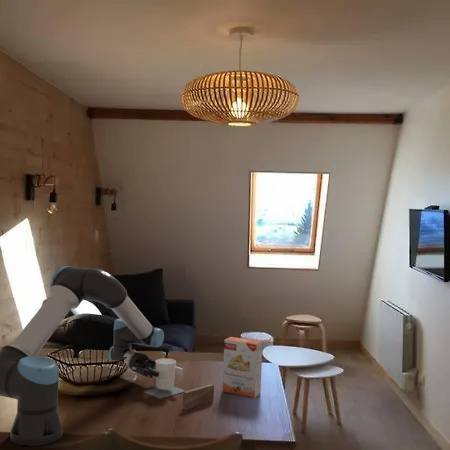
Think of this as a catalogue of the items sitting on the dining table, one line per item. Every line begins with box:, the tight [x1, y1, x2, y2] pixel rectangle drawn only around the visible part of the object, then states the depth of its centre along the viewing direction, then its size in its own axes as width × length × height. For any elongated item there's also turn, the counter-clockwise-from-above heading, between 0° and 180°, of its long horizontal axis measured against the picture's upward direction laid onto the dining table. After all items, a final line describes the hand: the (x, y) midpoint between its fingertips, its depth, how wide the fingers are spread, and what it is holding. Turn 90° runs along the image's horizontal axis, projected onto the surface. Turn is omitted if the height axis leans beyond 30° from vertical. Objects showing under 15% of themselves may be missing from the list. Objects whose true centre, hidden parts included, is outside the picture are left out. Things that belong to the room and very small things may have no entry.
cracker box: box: [221, 336, 264, 399], centre depth 221 cm, size 14×6×21 cm, turn 62°
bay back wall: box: [182, 383, 215, 411], centre depth 207 cm, size 2×14×6 cm, turn 137°
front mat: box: [143, 386, 186, 400], centre depth 220 cm, size 10×13×1 cm
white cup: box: [154, 358, 177, 390], centre depth 219 cm, size 8×8×10 cm
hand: (173, 374), depth 216 cm, fingers closed on white cup, 8 cm apart
